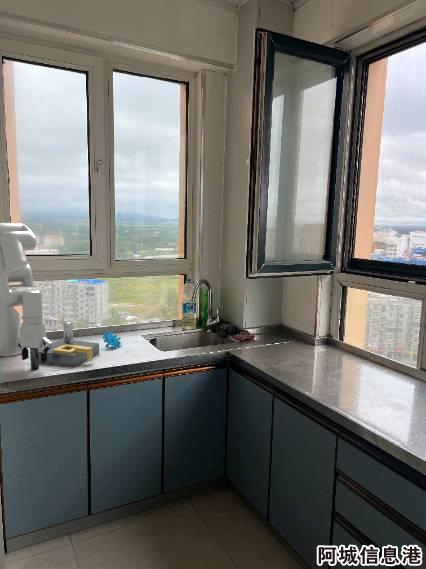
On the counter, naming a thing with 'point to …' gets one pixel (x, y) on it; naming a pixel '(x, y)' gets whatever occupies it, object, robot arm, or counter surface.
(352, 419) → the counter surface
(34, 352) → the wedge pin
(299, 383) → the counter surface
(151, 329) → the counter surface
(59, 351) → the bracket
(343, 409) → the counter surface
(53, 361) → the grey fixture base
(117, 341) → the gear
